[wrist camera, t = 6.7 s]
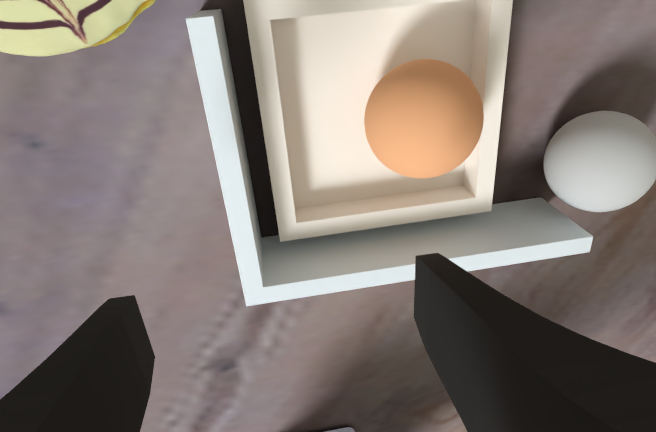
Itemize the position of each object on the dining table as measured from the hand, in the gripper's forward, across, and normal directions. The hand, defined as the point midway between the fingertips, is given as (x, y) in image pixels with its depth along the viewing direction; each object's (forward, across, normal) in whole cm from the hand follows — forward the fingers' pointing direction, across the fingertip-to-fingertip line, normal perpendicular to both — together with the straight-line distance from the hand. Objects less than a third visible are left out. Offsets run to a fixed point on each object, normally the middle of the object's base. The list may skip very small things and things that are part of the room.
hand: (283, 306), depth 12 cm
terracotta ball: (+9, -5, -2) cm, 10 cm away
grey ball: (+10, -14, 0) cm, 17 cm away
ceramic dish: (+10, -5, -2) cm, 11 cm away
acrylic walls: (+10, -6, -1) cm, 11 cm away
